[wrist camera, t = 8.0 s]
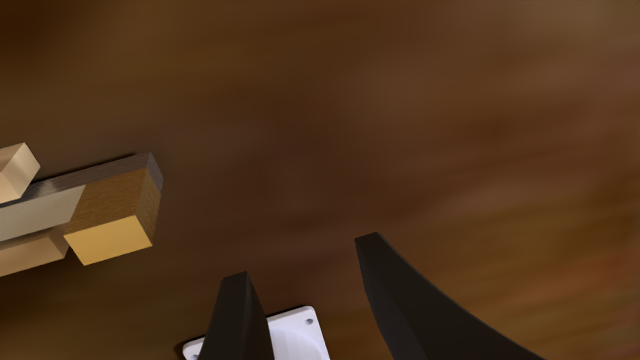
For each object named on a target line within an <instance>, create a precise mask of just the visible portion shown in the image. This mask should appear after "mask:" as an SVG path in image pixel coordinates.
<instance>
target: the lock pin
mask: <svg viewBox="0 0 640 360" xmlns="http://www.w3.org/2000/svg"><path fill="white" fill-rule="evenodd" d="M163 179H164V178H163V176H162V174H161V172H160V170H159V167H158V165H157V163H156V161H155V159H154V157H153V155H152V153H151V151H149V152H145V153H141V154H138V155H134V156H131V157H127V158H124V159H120V160H116V161H113V162H109V163H106V164H102V165H98V166H95V167H91V168H88V169H84V170H80V171H77V172H73V173H70V174H66V175H62V176H59V177H55V178H52V179H48V180H44V181H41V182H37V183H34V184H30V185H28V187H27V188H26V190H25V191H24V193H23V194H22V196H21V198H18V199H15V200H11V201H7V202H4V203H0V241H4V240H7V239H11V238H14V237H18V236H21V235H25V234H28V233H32V232H35V231H39V230H42V229H46V228H49V227H53V226H56V225H60V224H63V223H67V222H69V224H68V226H67V228H66V231H65V233H64V235H63V236H64V238H65V239H66V240H67V242H68V243H69V245H70V246H71V248H72V249H73V250H74V252H75V253H76V255H77V256H78V258H79V259H80V260H81V262H82V263H83V265H84V266H85V265H88V264H91V263H95V262H98V261H102V260H105V259H109V258H112V257H115V256H119V255H122V254H126V253H129V252H132V251H136V250H139V249H143V248H146V247H150V246H152V245H153V239H154V233H155V227H156V221H157V215H158V209H159V203H160V197H161V191H162V185H163Z"/></svg>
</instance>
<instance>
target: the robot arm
mask: <svg viewBox="0 0 640 360" xmlns="http://www.w3.org/2000/svg"><path fill="white" fill-rule="evenodd" d="M355 244H356V249H357V254H358V259H359V263H360V268H361V273H362V278H363V283H364V288H365V292H366V295H367V297H368V300H369V303H370V306H371V309H372V311H373V314H374V317H375V319H376V322H377V325H378V327H379V329H380V331H381V333H382V336H383V338H384V340H385V342H386V344H387V346H388V348H389V350H390V352H391V354H392V356H393V358H394V360H546V359H544V358H542V357H541V356H539V355H537V354H535V353H533V352H531V351H530V350H528V349H526V348H524V347H522V346H521V345H519V344H517V343H516V342H514V341H512V340H511V339H509V338H507V337H506V336H504V335H503V334H501V333H499V332H498V331H496V330H495V329H493V328H492V327H490V326H489V325H487V324H486V323H484V322H483V321H481V320H480V319H478V318H477V317H475V316H474V315H472V314H471V313H470V312H468V311H467V310H465V309H464V308H463V307H461V306H460V305H459V304H457V303H456V302H455V301H453V300H452V299H451V298H450V297H448V296H447V295H446V294H444V293H443V292H442V291H441V290H439V289H438V288H437V287H436V286H435V285H433V284H432V283H431V282H430V281H429V280H428V279H426V278H425V277H424V276H423V275H422V274H421V273H419V272H418V271H417V270H416V269H415V268H414V267H413V266H412V265H411V264H409V263H408V262H407V261H406V260H405V259H404V258H403V257H402V256H401V255H400V254H399V253H398V252H397V251H396V250H395V249H394V248H393V247H392V246H391V245H390V244H389V243H388V241H387V240H386V239H385V238H384V237H383V236H382V235H381V234H380V233H378V232H375V233H371V234H368V235H365V236H361V237H358V238H355ZM307 319H309V320H307ZM183 355H184V356H185V358H186V360H330V358H329V355H328V352H327V349H326V346H325V343H324V339H323V336H322V333H321V330H320V327H319V323H318V320H317V317H316V314H315V311H314V309H313V307H311V306H304V307H301V308H298V309H295V310H291V311H288V312H285V313H282V314H278V315H275V316H272V317H269V318H266V316H265V314H264V311H263V309H262V306H261V304H260V302H259V299H258V297H257V294H256V292H255V289H254V287H253V285H252V282H251V280H250V277H249V275H248V273H247V271H245V272H242V273H238V274H235V275H232V276H228V277H225V278H223V280H222V281H221V284H220V288H219V292H218V296H217V300H216V304H215V307H214V311H213V314H212V317H211V320H210V324H209V327H208V330H207V332H206V335H205V337H204V338H201V339H198V340H194V341H191V342H188V343H186V344H185V345H184V346H183Z"/></svg>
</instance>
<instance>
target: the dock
mask: <svg viewBox="0 0 640 360" xmlns="http://www.w3.org/2000/svg"><path fill="white" fill-rule="evenodd" d="M39 168H40V165H39V164H38V162H37V161H36V159H35V158H34V156H33V155H32V153H31V152H30V150H29V149H28V147H27V146H26V144H25V143H20V144H16V145H13V146H9V147H5V148H2V149H0V203H4V202H7V201H11V200H15V199H18V198H21V196H22V194H23V193H24V191H25V190H26V188H27V187H28V185H29V184H30V182H31V180H32V179H33V177H34V176H35V174H36V173H37V171H38V170H39ZM68 224H69V222H67V223H63V224H60V225H56V226H53V227H49V228H46V229H42V230H39V231H35V232H32V233H28V234H25V235H21V236H18V237H14V238H11V239H7V240H4V241H0V277H1V276H4V275H8V274H11V273H15V272H18V271H21V270H25V269H28V268H32V267H35V266H39V265H42V264H45V263H49V262H52V261H56V260H59V259H63V258H64V257H65V255H66V252H67V250H68V247H69V243H68V242H67V240H66V239H65V238H64V236H63V235H64V233H65V231H66V228H67V226H68Z"/></svg>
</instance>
